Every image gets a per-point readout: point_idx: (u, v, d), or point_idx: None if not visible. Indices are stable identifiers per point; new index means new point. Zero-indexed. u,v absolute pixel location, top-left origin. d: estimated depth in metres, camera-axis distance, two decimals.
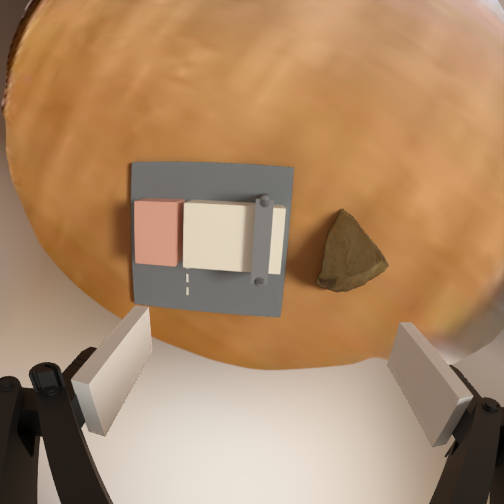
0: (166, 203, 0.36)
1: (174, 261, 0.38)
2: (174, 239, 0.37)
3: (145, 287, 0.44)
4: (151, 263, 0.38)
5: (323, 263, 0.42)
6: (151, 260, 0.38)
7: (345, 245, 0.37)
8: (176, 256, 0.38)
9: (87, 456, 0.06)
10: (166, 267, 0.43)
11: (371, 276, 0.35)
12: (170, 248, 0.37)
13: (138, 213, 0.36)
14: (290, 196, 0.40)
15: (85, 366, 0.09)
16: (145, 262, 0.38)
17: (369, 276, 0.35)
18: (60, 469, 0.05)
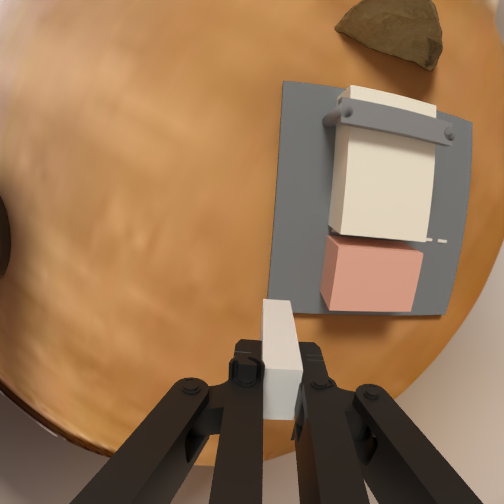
0: (338, 261, 0.24)
1: (417, 254, 0.24)
2: (389, 252, 0.24)
3: (431, 298, 0.30)
4: (415, 288, 0.25)
5: (406, 58, 0.24)
6: (411, 288, 0.25)
7: (389, 19, 0.19)
8: (409, 250, 0.24)
9: (261, 453, 0.07)
10: None
11: None
12: (400, 259, 0.24)
13: (347, 304, 0.25)
14: (325, 87, 0.25)
15: (266, 354, 0.11)
16: (412, 297, 0.25)
17: None
18: (227, 458, 0.07)
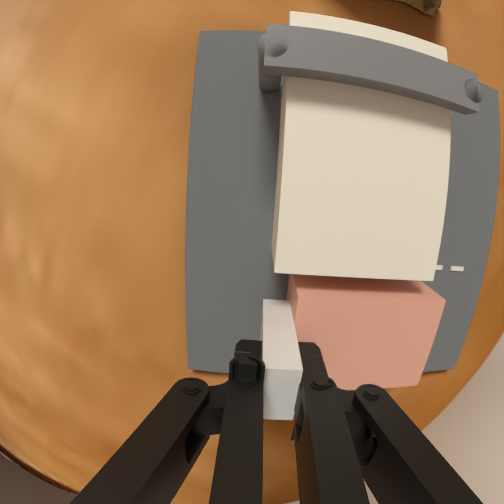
0: (298, 319, 0.14)
1: (435, 302, 0.14)
2: (389, 301, 0.14)
3: (435, 349, 0.19)
4: (427, 353, 0.14)
5: None
6: (421, 353, 0.14)
7: None
8: (424, 296, 0.14)
9: (261, 453, 0.07)
10: None
11: None
12: (407, 312, 0.14)
13: None
14: (264, 33, 0.15)
15: (266, 355, 0.11)
16: (422, 365, 0.15)
17: None
18: (227, 458, 0.07)
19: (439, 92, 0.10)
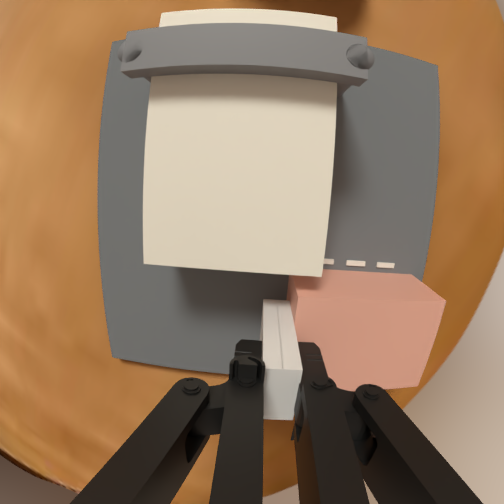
0: (298, 320, 0.14)
1: (435, 303, 0.14)
2: (389, 302, 0.14)
3: None
4: (427, 354, 0.14)
5: None
6: (422, 354, 0.14)
7: None
8: (424, 297, 0.14)
9: (262, 453, 0.07)
10: None
11: None
12: (407, 313, 0.14)
13: None
14: None
15: (266, 354, 0.11)
16: (422, 366, 0.15)
17: None
18: (227, 458, 0.07)
19: (308, 63, 0.10)
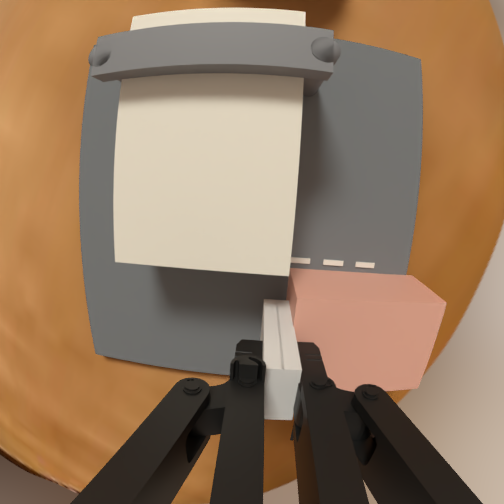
0: (297, 322, 0.14)
1: (436, 304, 0.13)
2: (389, 304, 0.13)
3: None
4: (427, 356, 0.14)
5: None
6: (422, 356, 0.14)
7: None
8: (424, 298, 0.14)
9: (262, 453, 0.07)
10: None
11: None
12: (407, 315, 0.14)
13: None
14: None
15: (267, 355, 0.11)
16: (422, 368, 0.14)
17: None
18: (228, 458, 0.07)
19: (270, 59, 0.10)
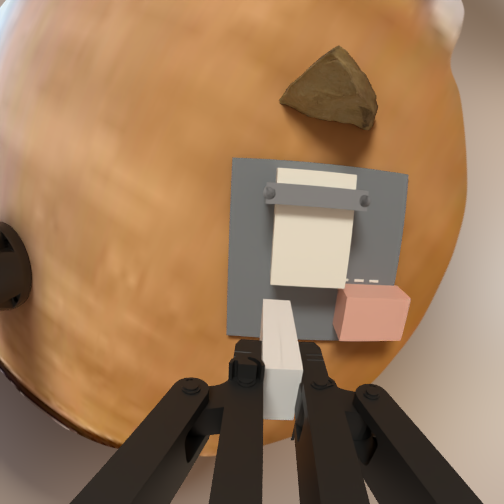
0: (347, 307, 0.33)
1: (405, 299, 0.32)
2: (384, 299, 0.32)
3: None
4: (403, 323, 0.33)
5: (344, 121, 0.32)
6: (401, 323, 0.33)
7: (319, 97, 0.28)
8: (400, 297, 0.32)
9: (261, 453, 0.07)
10: None
11: (354, 65, 0.24)
12: (392, 304, 0.32)
13: (352, 336, 0.33)
14: (266, 160, 0.34)
15: (266, 354, 0.11)
16: (401, 330, 0.33)
17: (354, 68, 0.24)
18: (227, 458, 0.07)
19: (344, 206, 0.29)
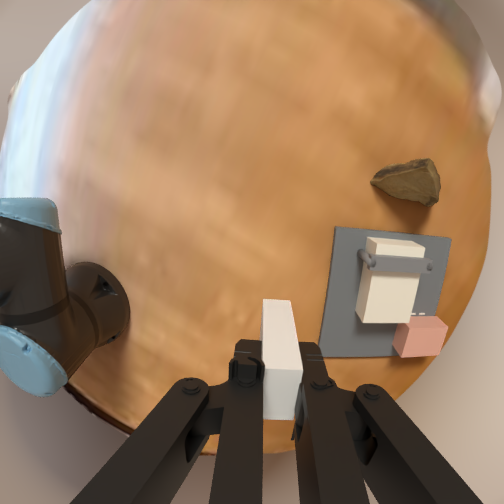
0: (408, 335, 0.43)
1: (445, 327, 0.43)
2: (432, 328, 0.43)
3: None
4: (442, 343, 0.43)
5: (414, 200, 0.43)
6: (440, 343, 0.43)
7: (407, 190, 0.38)
8: (441, 325, 0.43)
9: (261, 453, 0.07)
10: None
11: (435, 172, 0.35)
12: (436, 331, 0.43)
13: (409, 354, 0.44)
14: (360, 230, 0.44)
15: (266, 354, 0.11)
16: (440, 347, 0.44)
17: (435, 174, 0.35)
18: (227, 458, 0.07)
19: (416, 271, 0.39)
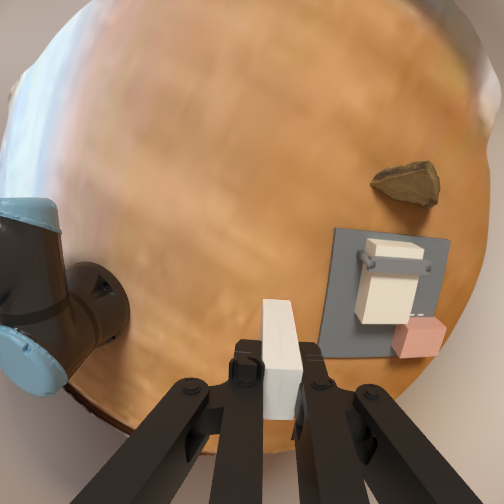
0: (407, 336, 0.43)
1: (443, 328, 0.43)
2: (430, 329, 0.43)
3: None
4: (440, 344, 0.44)
5: (413, 202, 0.43)
6: (438, 344, 0.44)
7: (407, 192, 0.38)
8: (440, 326, 0.44)
9: (261, 453, 0.07)
10: None
11: (435, 174, 0.35)
12: (435, 332, 0.43)
13: (408, 355, 0.44)
14: (360, 232, 0.44)
15: (266, 354, 0.11)
16: (438, 348, 0.44)
17: (435, 176, 0.35)
18: (227, 458, 0.07)
19: (416, 272, 0.40)
